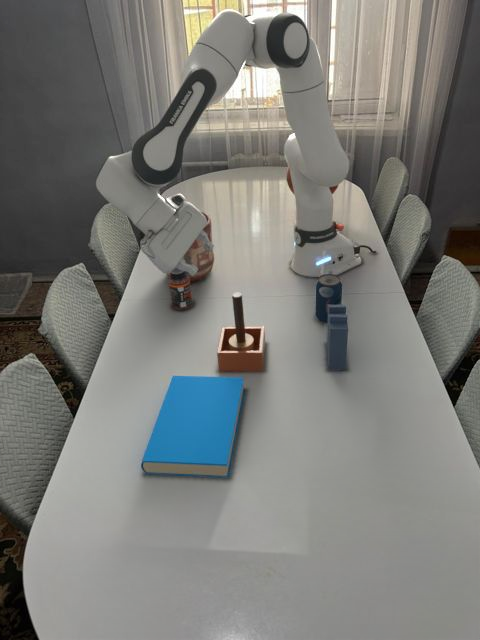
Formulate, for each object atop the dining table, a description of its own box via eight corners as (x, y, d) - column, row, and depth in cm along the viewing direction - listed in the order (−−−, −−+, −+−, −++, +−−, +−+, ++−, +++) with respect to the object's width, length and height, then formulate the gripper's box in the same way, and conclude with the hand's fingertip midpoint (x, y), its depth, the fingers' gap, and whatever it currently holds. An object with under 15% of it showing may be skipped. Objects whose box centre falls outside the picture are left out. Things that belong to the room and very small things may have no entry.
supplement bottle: (189, 311, 144) (184, 276, 137) (169, 310, 145) (163, 275, 139) (196, 300, 149) (190, 265, 142) (176, 299, 150) (170, 264, 143)
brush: (238, 372, 126) (194, 328, 123) (248, 357, 130) (206, 315, 127) (277, 346, 116) (230, 297, 113) (287, 331, 120) (242, 284, 117)
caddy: (219, 371, 123) (217, 353, 119) (224, 344, 131) (222, 326, 128) (263, 371, 122) (262, 352, 119) (265, 344, 130) (264, 326, 127)
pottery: (152, 286, 157) (140, 231, 146) (174, 259, 170) (165, 207, 159) (206, 291, 153) (198, 235, 142) (224, 263, 166) (219, 211, 155)
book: (243, 376, 115) (228, 463, 95) (245, 391, 117) (230, 478, 97) (169, 375, 116) (138, 459, 96) (172, 389, 119) (142, 474, 99)
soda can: (330, 328, 135) (332, 289, 127) (309, 319, 138) (310, 280, 131) (345, 316, 139) (348, 278, 131) (325, 308, 142) (326, 270, 135)
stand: (328, 370, 121) (330, 323, 113) (326, 344, 129) (328, 299, 121) (345, 370, 121) (348, 323, 113) (342, 344, 129) (345, 299, 121)
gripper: (143, 238, 107) (193, 281, 112) (183, 190, 121) (227, 230, 125) (130, 252, 112) (178, 294, 116) (170, 204, 125) (212, 243, 129)
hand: (204, 260), depth 121 cm, fingers open, 8 cm apart
